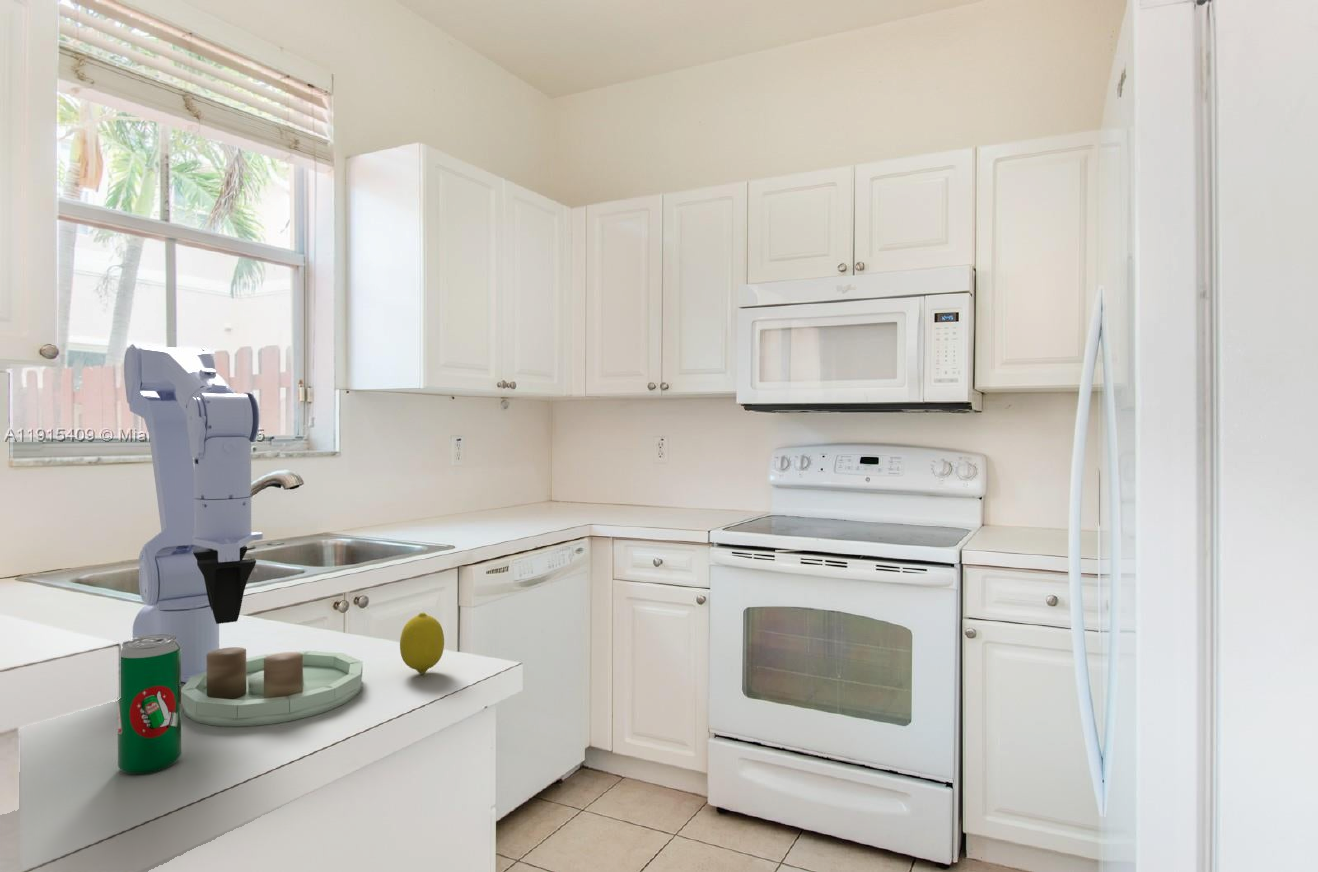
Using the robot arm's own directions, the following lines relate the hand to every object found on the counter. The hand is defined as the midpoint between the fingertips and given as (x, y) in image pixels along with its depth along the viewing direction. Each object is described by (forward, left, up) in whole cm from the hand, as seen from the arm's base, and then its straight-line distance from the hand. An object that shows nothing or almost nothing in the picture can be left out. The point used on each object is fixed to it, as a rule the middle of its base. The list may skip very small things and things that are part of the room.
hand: (223, 614), depth 89 cm
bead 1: (0, 0, -9) cm, 9 cm away
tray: (+4, +4, -10) cm, 12 cm away
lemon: (+17, +15, -11) cm, 25 cm away
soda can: (+5, -15, -11) cm, 19 cm away
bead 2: (+8, 0, -9) cm, 12 cm away
